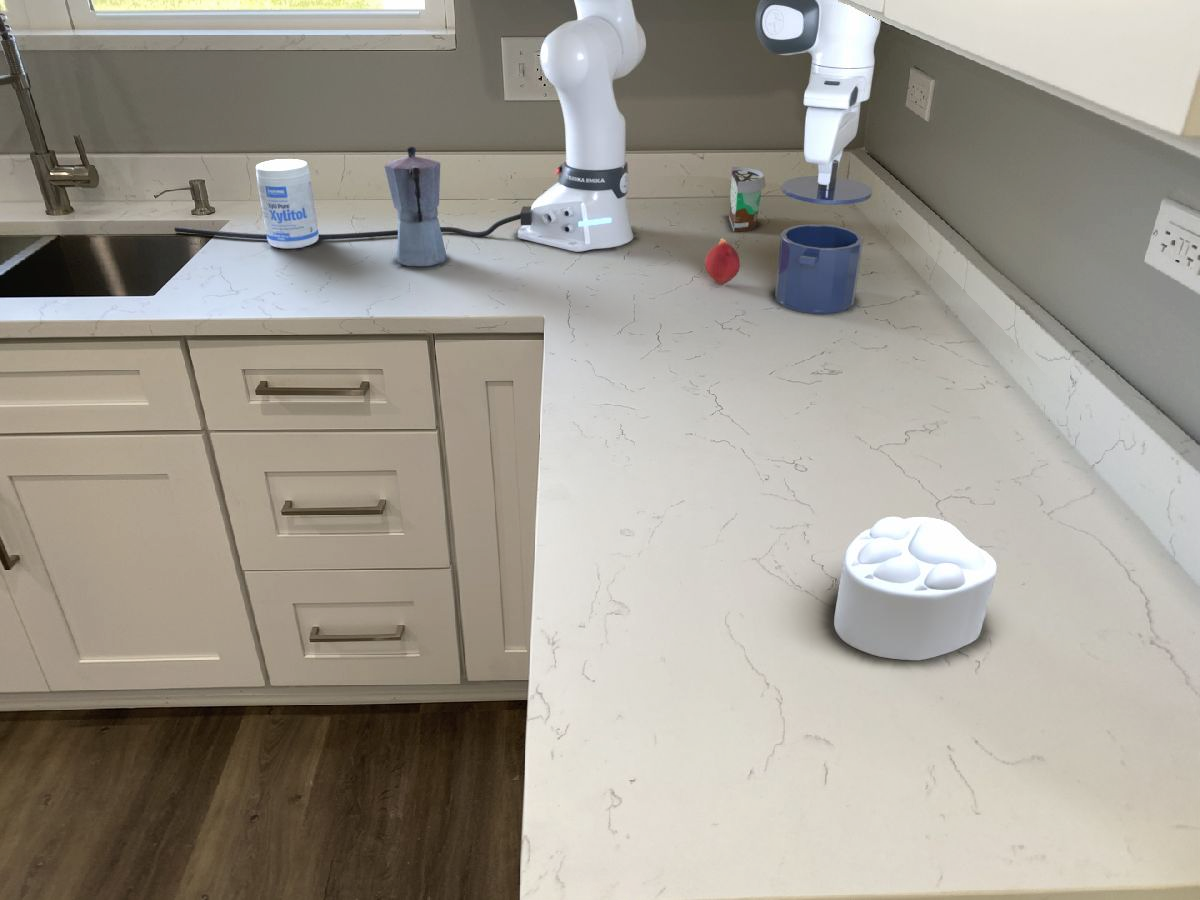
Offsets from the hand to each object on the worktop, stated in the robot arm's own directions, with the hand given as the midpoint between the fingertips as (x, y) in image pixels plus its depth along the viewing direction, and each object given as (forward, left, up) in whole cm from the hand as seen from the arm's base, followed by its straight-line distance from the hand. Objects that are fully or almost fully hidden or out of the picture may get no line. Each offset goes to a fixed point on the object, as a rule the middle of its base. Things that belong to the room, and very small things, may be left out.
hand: (827, 180), depth 142 cm
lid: (0, 0, -2) cm, 2 cm away
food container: (-22, +34, -20) cm, 45 cm away
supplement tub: (-98, -12, -20) cm, 100 cm away
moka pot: (-69, -11, -20) cm, 72 cm away
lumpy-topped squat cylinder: (+26, -74, -20) cm, 81 cm away
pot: (0, 0, -19) cm, 19 cm away
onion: (-16, 0, -20) cm, 25 cm away
